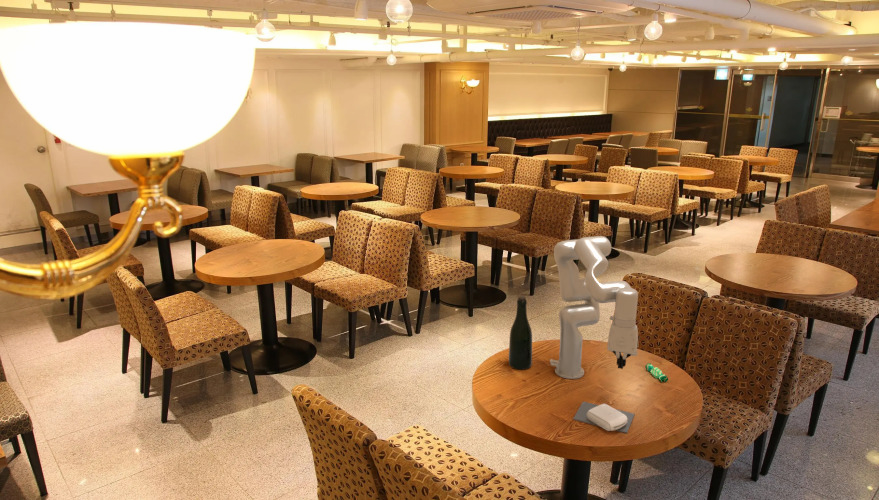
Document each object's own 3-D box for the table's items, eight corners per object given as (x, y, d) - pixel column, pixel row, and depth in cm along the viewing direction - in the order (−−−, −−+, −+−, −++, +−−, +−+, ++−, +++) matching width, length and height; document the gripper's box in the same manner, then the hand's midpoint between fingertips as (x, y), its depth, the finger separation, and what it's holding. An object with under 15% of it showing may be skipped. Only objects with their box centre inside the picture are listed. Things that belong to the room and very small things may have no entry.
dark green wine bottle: (504, 366, 266) (505, 298, 257) (515, 357, 275) (516, 291, 265) (525, 372, 261) (527, 303, 251) (535, 363, 269) (538, 295, 260)
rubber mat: (573, 419, 224) (573, 418, 224) (583, 402, 236) (583, 401, 236) (627, 433, 215) (627, 432, 215) (634, 414, 227) (634, 413, 227)
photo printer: (605, 401, 227) (631, 416, 217) (604, 411, 228) (630, 426, 218) (586, 409, 222) (611, 424, 212) (585, 419, 223) (611, 435, 213)
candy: (643, 368, 261) (648, 361, 260) (648, 371, 262) (654, 364, 262) (658, 381, 250) (664, 374, 249) (664, 385, 251) (669, 377, 250)
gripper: (601, 321, 213) (598, 367, 218) (644, 329, 206) (639, 376, 211) (606, 314, 219) (603, 358, 224) (648, 321, 212) (643, 367, 217)
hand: (620, 367), depth 218 cm, fingers closed
